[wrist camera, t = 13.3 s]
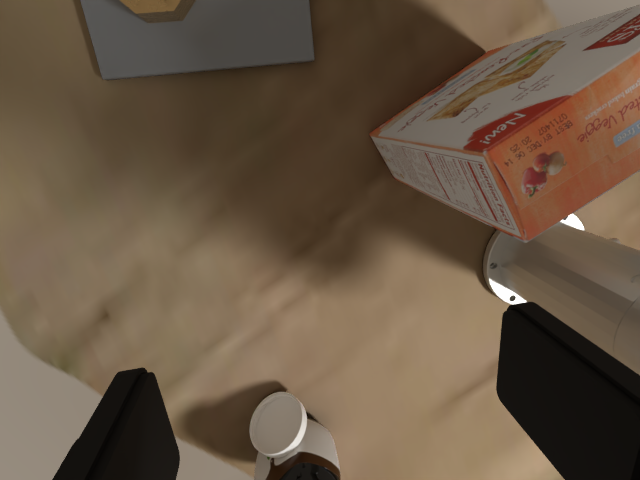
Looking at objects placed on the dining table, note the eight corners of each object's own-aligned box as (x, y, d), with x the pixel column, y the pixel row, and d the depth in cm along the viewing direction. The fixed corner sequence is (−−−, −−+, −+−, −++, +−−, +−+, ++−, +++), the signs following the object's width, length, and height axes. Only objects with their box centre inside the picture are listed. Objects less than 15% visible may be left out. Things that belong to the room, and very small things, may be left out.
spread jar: (293, 471, 49) (301, 573, 38) (222, 441, 45) (208, 543, 35) (348, 411, 47) (373, 501, 36) (277, 374, 43) (281, 461, 32)
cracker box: (485, 46, 34) (775, -46, 15) (508, 102, 36) (788, 87, 17) (363, 130, 35) (485, 148, 16) (392, 180, 37) (531, 251, 18)
